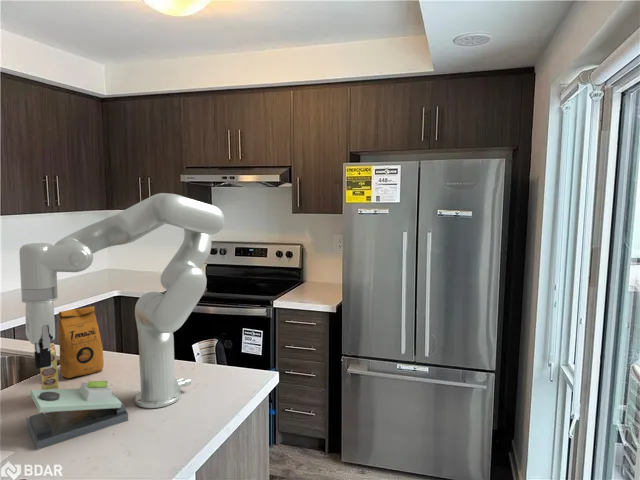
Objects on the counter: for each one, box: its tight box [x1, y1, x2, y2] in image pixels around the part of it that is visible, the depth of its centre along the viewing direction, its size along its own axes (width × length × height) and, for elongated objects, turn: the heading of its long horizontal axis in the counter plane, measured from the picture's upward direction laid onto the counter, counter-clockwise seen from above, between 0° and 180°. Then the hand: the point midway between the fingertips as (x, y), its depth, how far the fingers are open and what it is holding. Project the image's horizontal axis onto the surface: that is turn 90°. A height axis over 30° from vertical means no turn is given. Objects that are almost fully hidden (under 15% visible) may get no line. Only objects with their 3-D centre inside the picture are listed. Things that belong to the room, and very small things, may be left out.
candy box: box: [39, 342, 60, 390], centre depth 133 cm, size 9×4×15 cm, turn 33°
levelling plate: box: [29, 380, 123, 413], centre depth 120 cm, size 20×12×5 cm, turn 132°
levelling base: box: [25, 401, 129, 450], centre depth 121 cm, size 21×14×3 cm, turn 131°
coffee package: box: [57, 305, 105, 379], centre depth 151 cm, size 10×12×22 cm
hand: (43, 366), depth 114 cm, fingers closed
